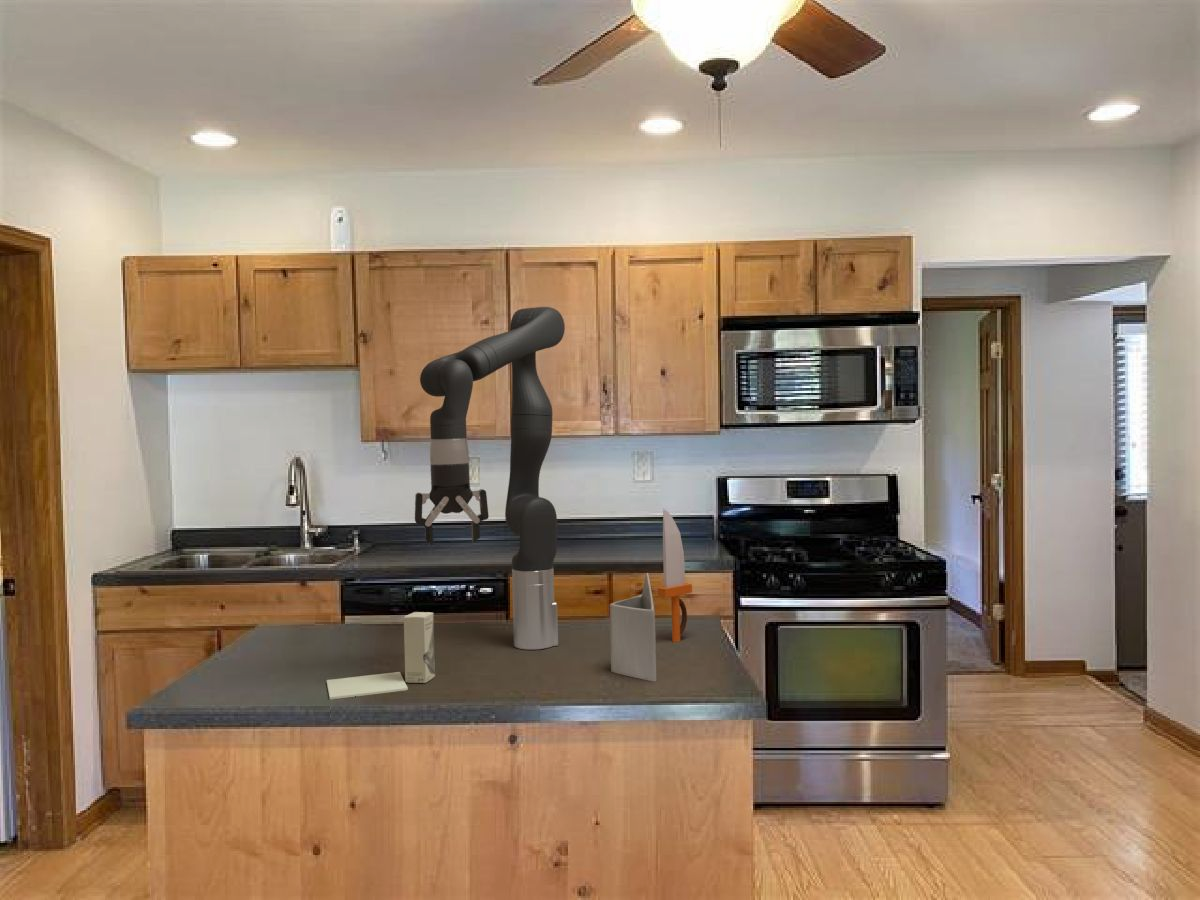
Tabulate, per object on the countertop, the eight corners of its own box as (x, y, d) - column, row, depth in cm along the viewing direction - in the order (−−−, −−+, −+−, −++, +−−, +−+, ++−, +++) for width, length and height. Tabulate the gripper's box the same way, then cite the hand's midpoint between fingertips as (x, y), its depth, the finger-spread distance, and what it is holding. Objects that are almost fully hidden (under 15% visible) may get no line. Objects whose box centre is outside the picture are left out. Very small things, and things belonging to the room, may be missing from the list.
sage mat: (399, 673, 178) (399, 671, 178) (407, 690, 167) (407, 688, 167) (326, 682, 174) (326, 680, 174) (329, 699, 162) (329, 697, 162)
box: (425, 684, 171) (424, 617, 170) (404, 683, 172) (402, 616, 171) (436, 676, 176) (434, 611, 176) (415, 675, 177) (413, 611, 176)
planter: (607, 660, 185) (605, 567, 184) (645, 659, 185) (643, 566, 185) (614, 683, 168) (612, 581, 168) (656, 681, 169) (654, 580, 168)
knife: (666, 645, 196) (663, 509, 195) (658, 643, 198) (655, 508, 197) (693, 639, 201) (690, 506, 200) (685, 637, 203) (682, 505, 202)
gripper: (482, 459, 181) (485, 538, 182) (411, 462, 178) (414, 543, 178) (488, 460, 174) (491, 543, 175) (414, 464, 170) (417, 548, 171)
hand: (452, 543), depth 176 cm, fingers open, 8 cm apart
